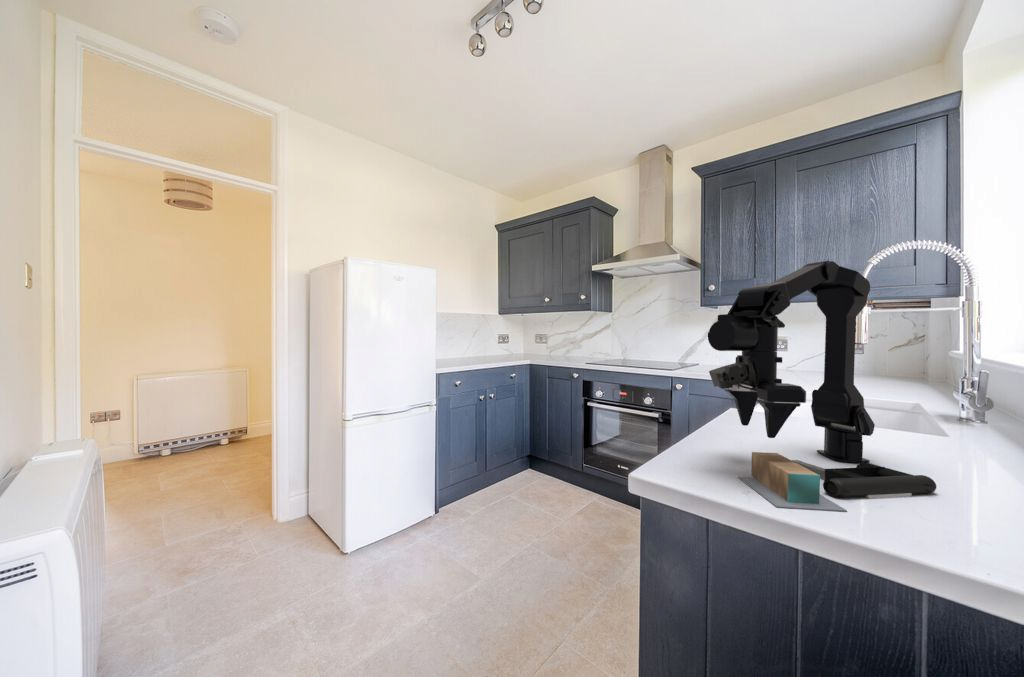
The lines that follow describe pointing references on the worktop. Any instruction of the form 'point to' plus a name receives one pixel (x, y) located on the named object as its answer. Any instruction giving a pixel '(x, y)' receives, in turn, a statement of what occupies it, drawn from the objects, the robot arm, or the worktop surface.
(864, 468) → the door handle
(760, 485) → the mat
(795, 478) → the walnut block
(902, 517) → the worktop surface
